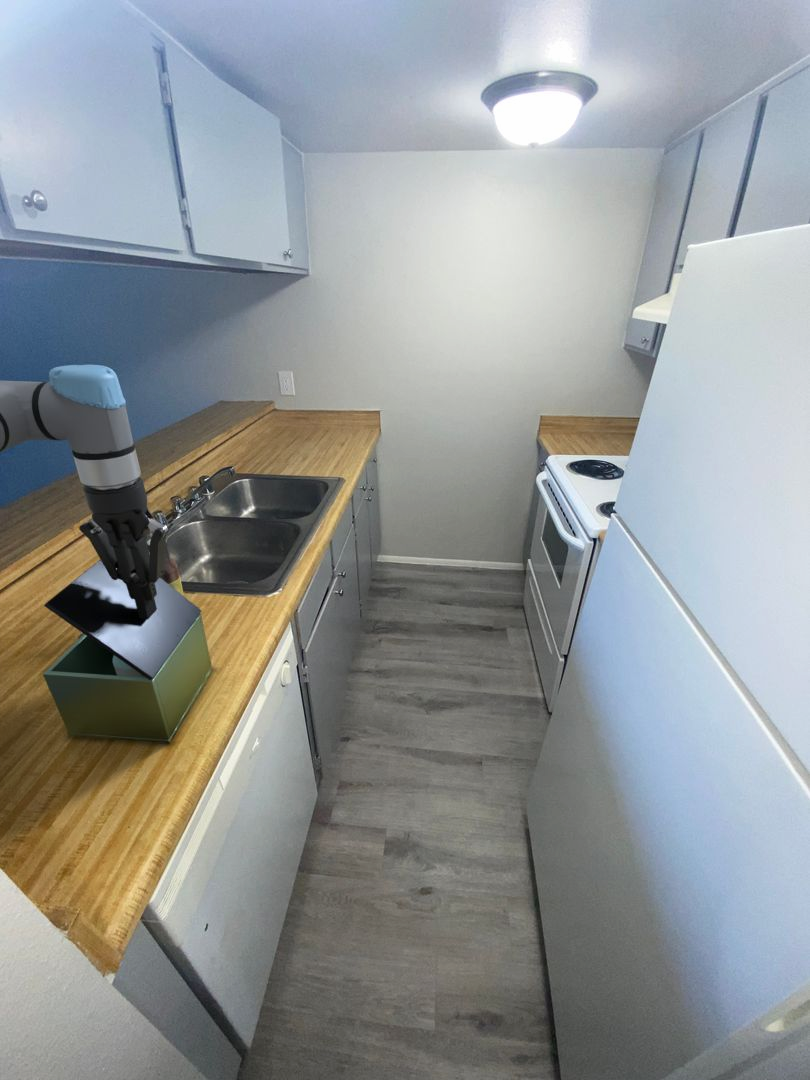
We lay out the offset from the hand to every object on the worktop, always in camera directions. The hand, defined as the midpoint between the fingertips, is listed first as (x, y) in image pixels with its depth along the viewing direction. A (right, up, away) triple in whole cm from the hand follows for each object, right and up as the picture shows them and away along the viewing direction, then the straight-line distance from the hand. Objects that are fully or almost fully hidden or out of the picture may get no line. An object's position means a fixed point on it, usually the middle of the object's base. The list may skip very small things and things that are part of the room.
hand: (148, 613), depth 78 cm
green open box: (-6, -18, +10) cm, 21 cm away
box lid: (-3, +1, 0) cm, 3 cm away
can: (-5, -17, +10) cm, 20 cm away
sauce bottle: (-12, -5, +33) cm, 36 cm away
